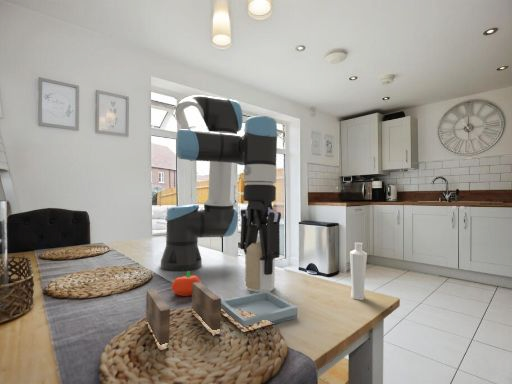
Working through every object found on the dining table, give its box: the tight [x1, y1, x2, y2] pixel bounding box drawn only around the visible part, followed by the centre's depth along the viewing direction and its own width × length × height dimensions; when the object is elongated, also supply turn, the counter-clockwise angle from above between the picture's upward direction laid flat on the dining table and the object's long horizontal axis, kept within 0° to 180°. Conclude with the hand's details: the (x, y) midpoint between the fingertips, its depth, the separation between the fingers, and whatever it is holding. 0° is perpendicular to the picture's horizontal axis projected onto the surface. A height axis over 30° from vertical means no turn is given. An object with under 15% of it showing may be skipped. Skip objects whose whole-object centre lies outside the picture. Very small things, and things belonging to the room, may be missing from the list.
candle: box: [245, 242, 262, 289], centre depth 63 cm, size 6×6×10 cm
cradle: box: [145, 282, 222, 345], centre depth 56 cm, size 12×12×7 cm
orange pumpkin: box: [171, 270, 202, 297], centre depth 75 cm, size 7×8×6 cm
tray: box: [221, 291, 298, 327], centre depth 63 cm, size 12×14×2 cm
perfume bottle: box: [349, 242, 368, 301], centre depth 75 cm, size 5×4×15 cm
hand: (257, 284), depth 63 cm, fingers closed on candle, 5 cm apart
